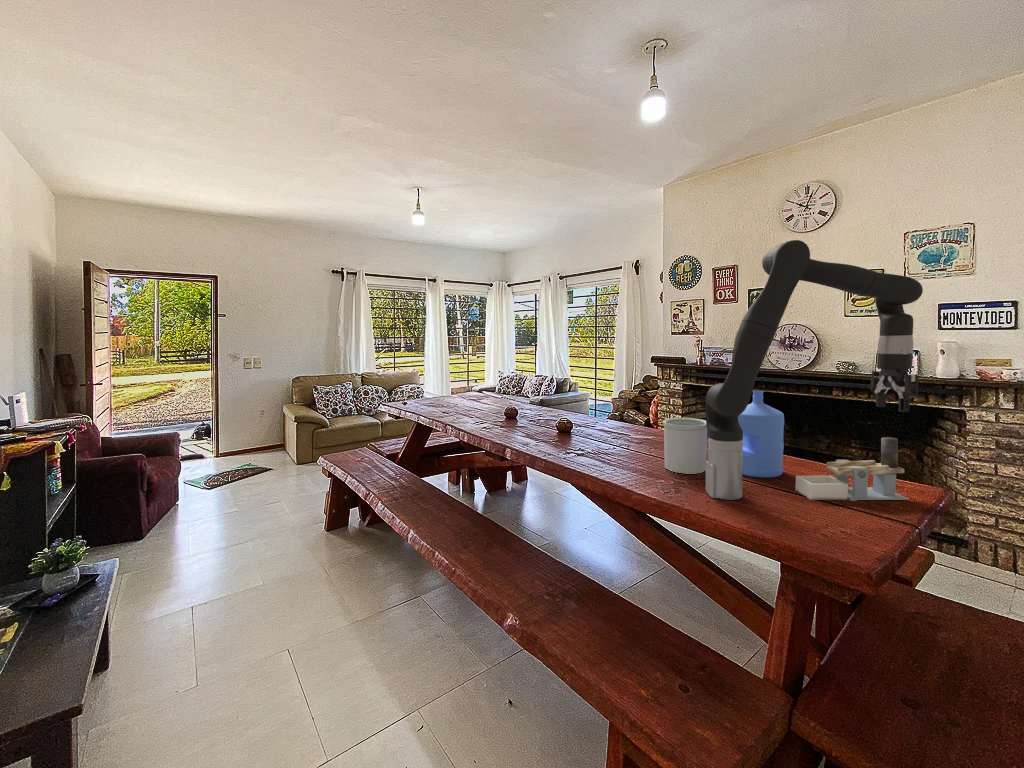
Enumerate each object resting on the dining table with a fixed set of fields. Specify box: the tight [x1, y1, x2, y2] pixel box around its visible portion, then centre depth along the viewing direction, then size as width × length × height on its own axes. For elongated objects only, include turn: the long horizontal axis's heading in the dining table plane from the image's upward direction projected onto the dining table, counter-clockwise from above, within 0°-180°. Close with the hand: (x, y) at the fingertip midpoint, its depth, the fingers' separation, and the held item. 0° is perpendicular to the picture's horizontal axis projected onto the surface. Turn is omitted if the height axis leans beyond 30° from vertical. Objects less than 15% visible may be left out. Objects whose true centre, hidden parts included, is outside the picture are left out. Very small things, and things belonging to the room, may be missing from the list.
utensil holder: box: [662, 417, 708, 474], centre depth 157 cm, size 15×15×18 cm
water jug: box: [738, 390, 785, 479], centre depth 151 cm, size 16×16×28 cm
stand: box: [834, 459, 910, 502], centre depth 127 cm, size 15×10×9 cm, turn 84°
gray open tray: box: [795, 475, 849, 501], centre depth 128 cm, size 10×8×4 cm
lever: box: [825, 436, 905, 476], centre depth 126 cm, size 17×6×9 cm, turn 84°
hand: (891, 409), depth 124 cm, fingers open, 8 cm apart
